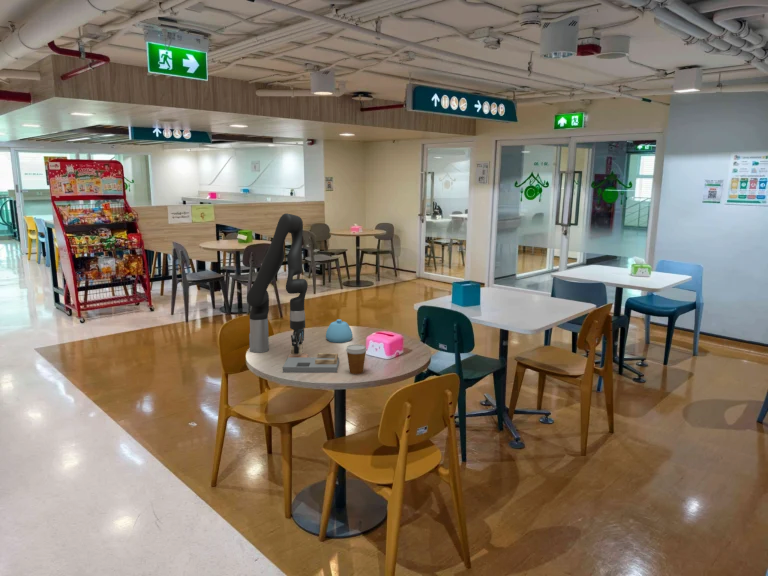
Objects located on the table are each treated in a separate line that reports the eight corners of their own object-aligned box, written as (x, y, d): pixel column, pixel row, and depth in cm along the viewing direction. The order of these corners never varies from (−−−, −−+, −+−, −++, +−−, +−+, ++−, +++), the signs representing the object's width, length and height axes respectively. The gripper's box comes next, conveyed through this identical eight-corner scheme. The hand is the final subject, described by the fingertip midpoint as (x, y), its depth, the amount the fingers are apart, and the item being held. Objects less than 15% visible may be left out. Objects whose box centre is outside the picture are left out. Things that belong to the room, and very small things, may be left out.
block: (290, 354, 279) (290, 346, 278) (293, 351, 284) (292, 343, 283) (300, 354, 279) (300, 347, 278) (302, 351, 284) (302, 344, 283)
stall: (315, 364, 264) (315, 360, 264) (317, 357, 275) (317, 353, 274) (336, 364, 264) (336, 360, 264) (338, 357, 275) (338, 353, 274)
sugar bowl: (324, 343, 308) (323, 322, 306) (327, 336, 323) (327, 316, 321) (351, 343, 308) (351, 323, 306) (353, 336, 322) (353, 316, 320)
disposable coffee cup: (347, 368, 266) (347, 343, 264) (367, 369, 266) (367, 344, 263) (344, 374, 257) (344, 349, 255) (365, 375, 256) (365, 350, 254)
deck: (282, 372, 260) (282, 367, 260) (288, 362, 275) (287, 357, 274) (336, 372, 260) (336, 367, 260) (339, 362, 275) (339, 357, 275)
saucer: (286, 360, 277) (286, 358, 277) (289, 354, 287) (289, 352, 286) (307, 361, 277) (306, 358, 277) (309, 355, 287) (309, 352, 287)
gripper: (300, 322, 271) (301, 356, 274) (309, 315, 285) (309, 348, 288) (285, 321, 272) (286, 355, 275) (294, 315, 286) (295, 347, 289)
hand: (298, 351), depth 281 cm, fingers closed on block, 5 cm apart
